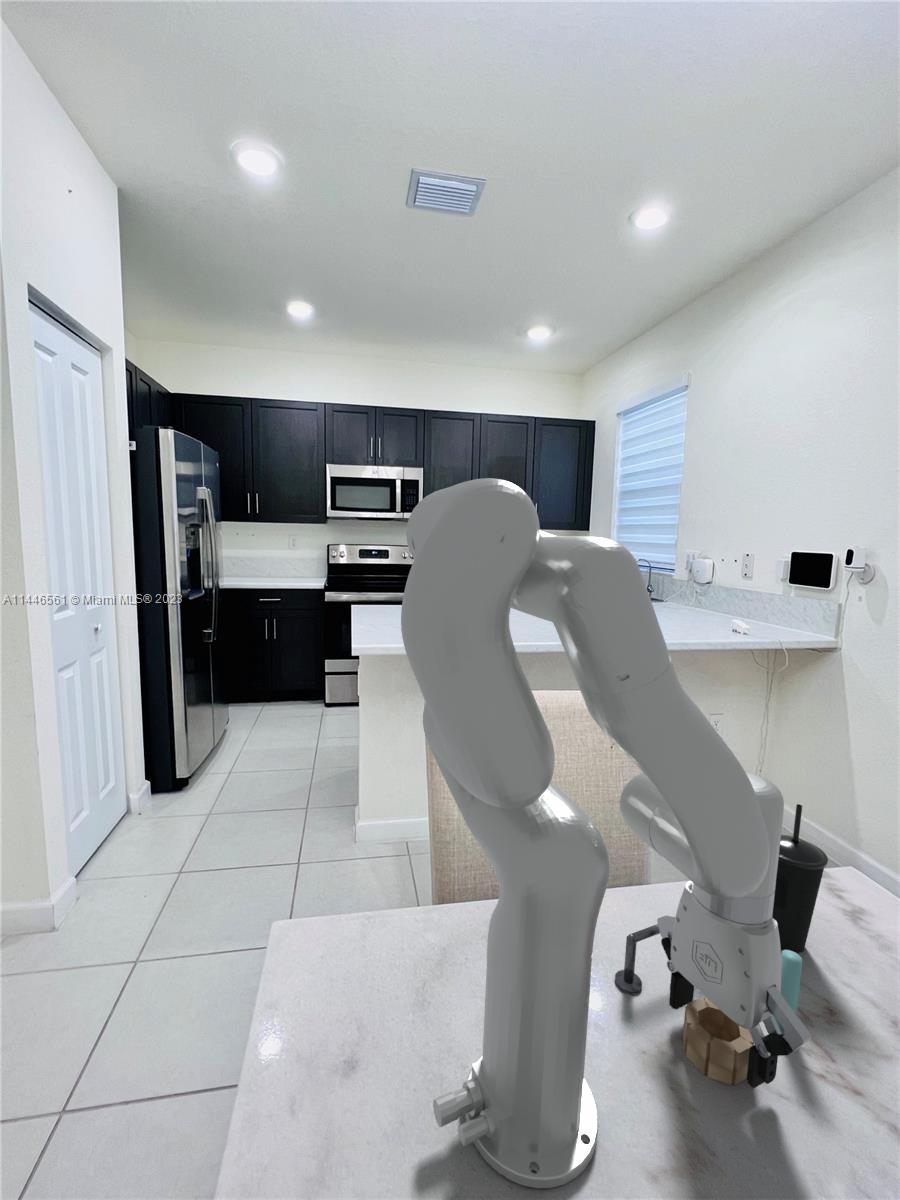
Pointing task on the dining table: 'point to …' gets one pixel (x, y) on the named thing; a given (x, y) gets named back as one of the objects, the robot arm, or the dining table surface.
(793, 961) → the peg
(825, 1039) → the dining table surface
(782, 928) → the drinking cup
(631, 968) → the corner grab bar
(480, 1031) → the dining table surface
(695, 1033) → the ring
